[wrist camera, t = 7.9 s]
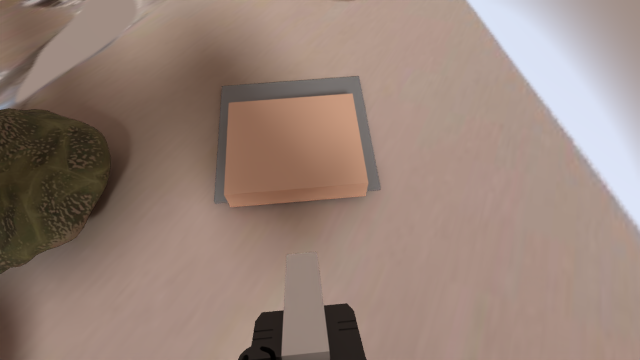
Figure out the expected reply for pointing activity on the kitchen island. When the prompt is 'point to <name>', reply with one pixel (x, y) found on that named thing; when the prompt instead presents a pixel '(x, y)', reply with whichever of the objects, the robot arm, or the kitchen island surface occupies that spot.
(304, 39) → the kitchen island surface
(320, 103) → the tile
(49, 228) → the decorative rock
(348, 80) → the mat
